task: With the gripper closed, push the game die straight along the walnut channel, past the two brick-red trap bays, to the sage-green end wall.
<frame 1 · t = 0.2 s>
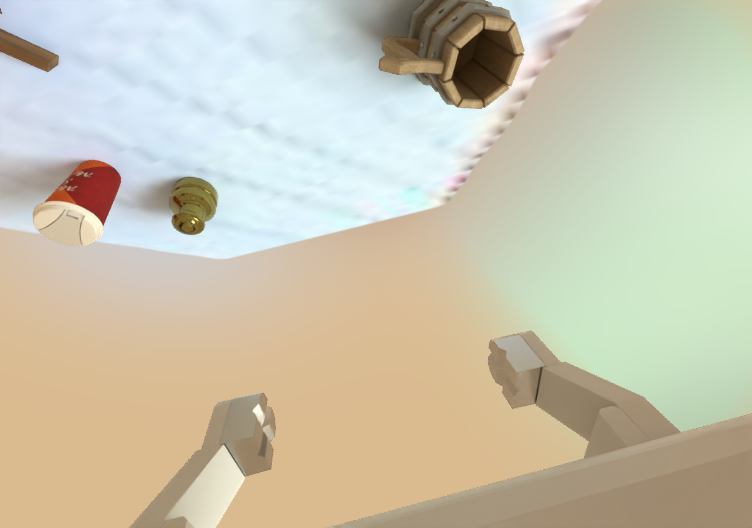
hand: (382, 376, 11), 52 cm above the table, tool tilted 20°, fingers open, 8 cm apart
tankard: (423, 35, 50), on the table
paper cup: (101, 174, 55), on the table
gold metal turned piece: (196, 192, 61), on the table
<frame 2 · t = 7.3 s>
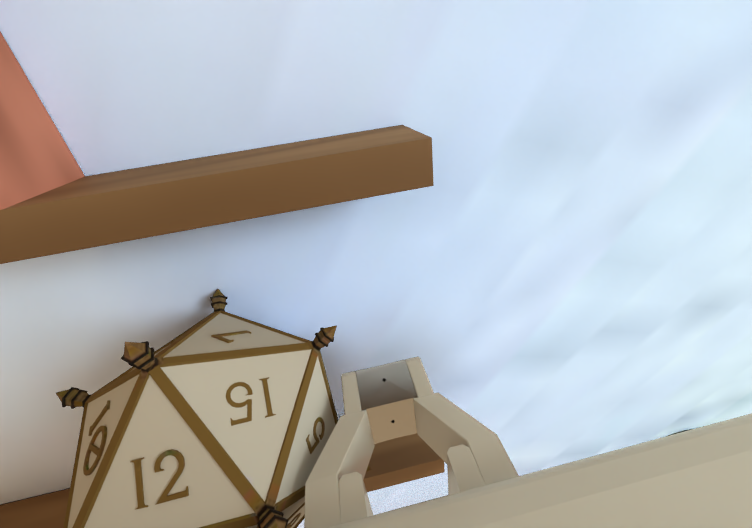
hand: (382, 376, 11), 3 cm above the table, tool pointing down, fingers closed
game die: (247, 343, 14), on the table, touching gripper
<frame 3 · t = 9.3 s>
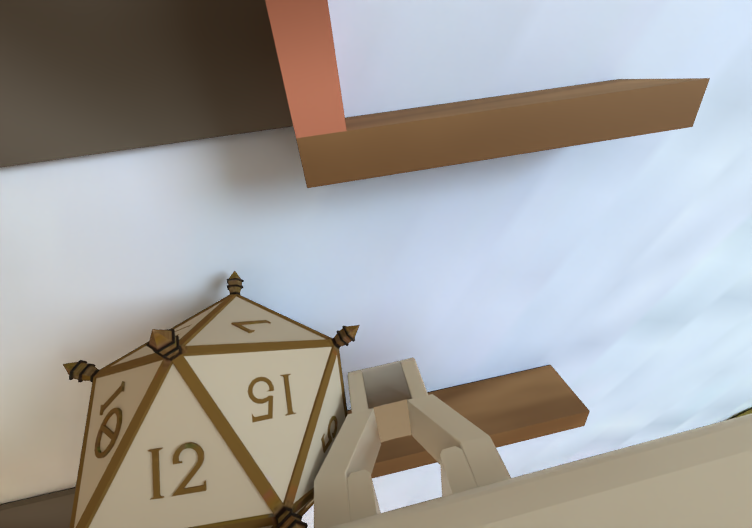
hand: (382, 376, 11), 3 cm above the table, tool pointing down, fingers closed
trap channel: (45, 372, 13), on the table
game die: (256, 326, 14), on the table, touching gripper
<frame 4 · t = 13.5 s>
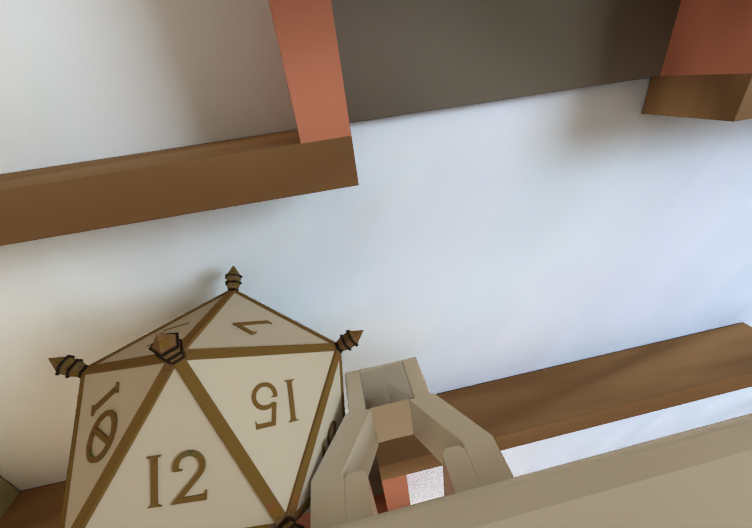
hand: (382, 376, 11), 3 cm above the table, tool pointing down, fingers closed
trap channel: (349, 316, 14), on the table
game die: (251, 322, 13), on the table, touching gripper
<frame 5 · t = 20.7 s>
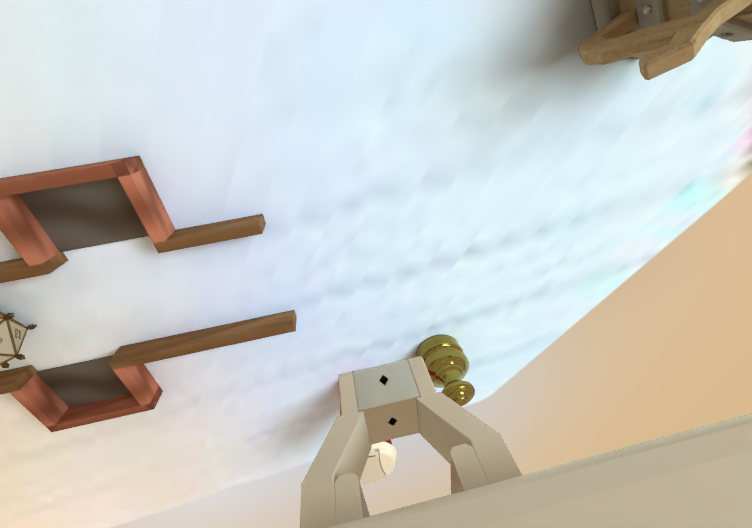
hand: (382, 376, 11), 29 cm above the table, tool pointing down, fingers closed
trap channel: (92, 307, 39), on the table
tankard: (616, 7, 33), on the table
game die: (6, 317, 38), on the table
paper cup: (356, 381, 54), on the table
gold metal turned piece: (436, 349, 53), on the table
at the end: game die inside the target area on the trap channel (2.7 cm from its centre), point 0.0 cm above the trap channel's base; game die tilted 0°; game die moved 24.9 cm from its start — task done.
